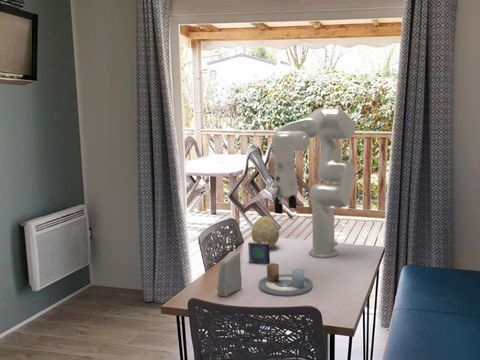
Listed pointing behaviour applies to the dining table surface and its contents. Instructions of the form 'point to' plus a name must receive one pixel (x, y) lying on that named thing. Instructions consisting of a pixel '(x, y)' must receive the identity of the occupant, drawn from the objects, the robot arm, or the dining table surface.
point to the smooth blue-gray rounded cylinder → (298, 278)
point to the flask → (259, 252)
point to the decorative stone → (229, 274)
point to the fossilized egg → (265, 231)
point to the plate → (284, 286)
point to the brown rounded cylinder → (272, 272)
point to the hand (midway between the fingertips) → (285, 210)
